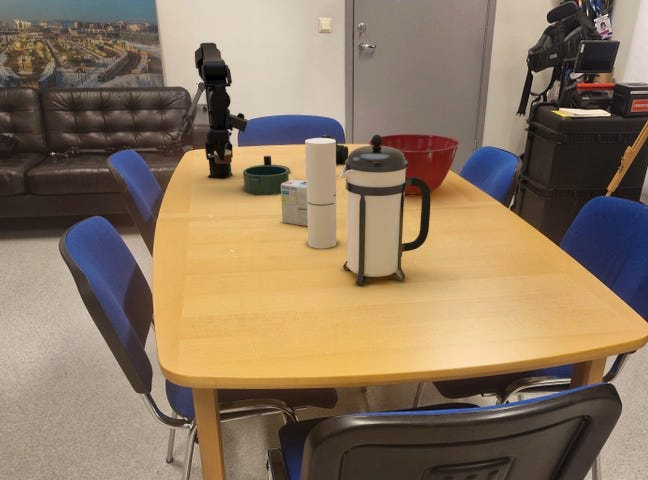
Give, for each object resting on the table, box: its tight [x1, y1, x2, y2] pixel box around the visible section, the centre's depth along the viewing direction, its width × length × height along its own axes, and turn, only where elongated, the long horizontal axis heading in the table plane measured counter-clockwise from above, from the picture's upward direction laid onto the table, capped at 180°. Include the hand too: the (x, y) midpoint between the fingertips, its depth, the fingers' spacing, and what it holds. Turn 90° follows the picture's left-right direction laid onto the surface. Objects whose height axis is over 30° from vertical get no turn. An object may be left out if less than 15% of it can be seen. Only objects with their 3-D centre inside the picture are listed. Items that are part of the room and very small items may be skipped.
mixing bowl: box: [368, 133, 460, 197], centre depth 201 cm, size 28×28×15 cm
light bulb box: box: [280, 178, 308, 227], centre depth 172 cm, size 11×7×11 cm, turn 65°
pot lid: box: [248, 155, 291, 173], centre depth 224 cm, size 15×15×6 cm
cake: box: [214, 150, 233, 164], centre depth 198 cm, size 5×5×4 cm
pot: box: [242, 165, 290, 196], centre depth 204 cm, size 14×20×6 cm
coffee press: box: [339, 134, 432, 287], centre depth 134 cm, size 17×16×30 cm
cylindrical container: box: [304, 137, 337, 249], centre depth 152 cm, size 7×7×25 cm
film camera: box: [320, 134, 350, 165], centre depth 237 cm, size 18×12×10 cm
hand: (223, 158), depth 199 cm, fingers closed on cake, 5 cm apart
